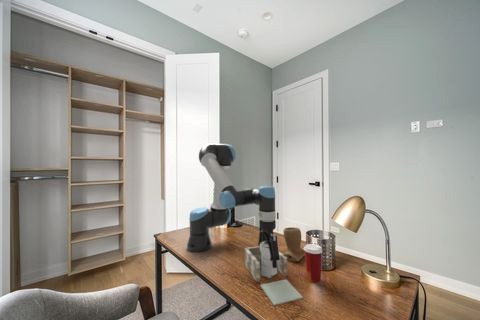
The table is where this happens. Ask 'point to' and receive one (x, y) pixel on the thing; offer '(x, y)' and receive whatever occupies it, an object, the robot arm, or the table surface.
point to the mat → (280, 292)
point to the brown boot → (293, 244)
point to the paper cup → (313, 262)
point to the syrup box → (265, 260)
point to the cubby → (254, 262)
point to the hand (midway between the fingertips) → (268, 268)
